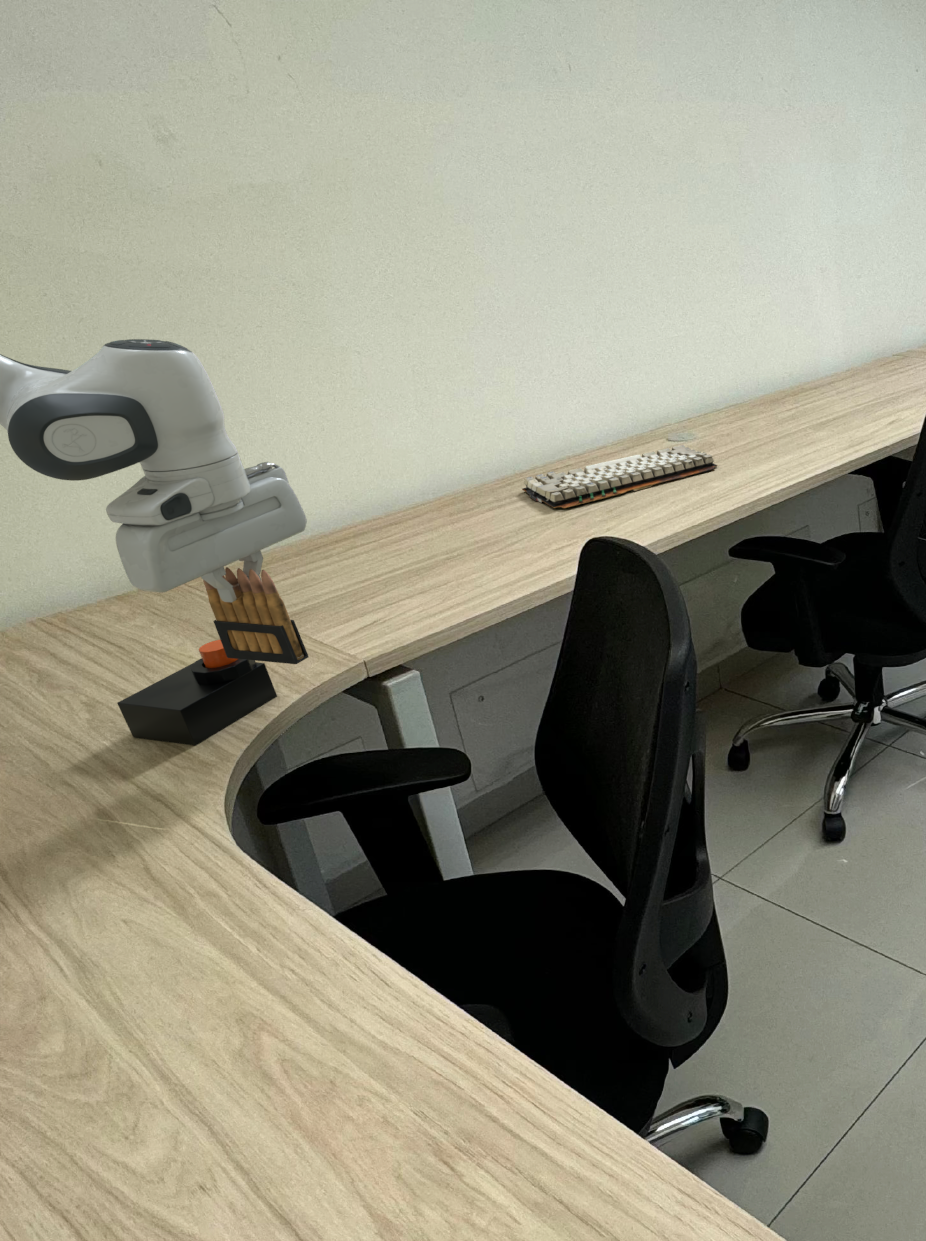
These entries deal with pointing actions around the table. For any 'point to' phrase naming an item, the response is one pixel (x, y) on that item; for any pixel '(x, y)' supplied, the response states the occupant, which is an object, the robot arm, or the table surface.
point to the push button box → (197, 701)
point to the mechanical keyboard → (616, 476)
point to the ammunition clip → (256, 621)
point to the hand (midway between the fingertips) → (243, 594)
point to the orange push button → (214, 655)
